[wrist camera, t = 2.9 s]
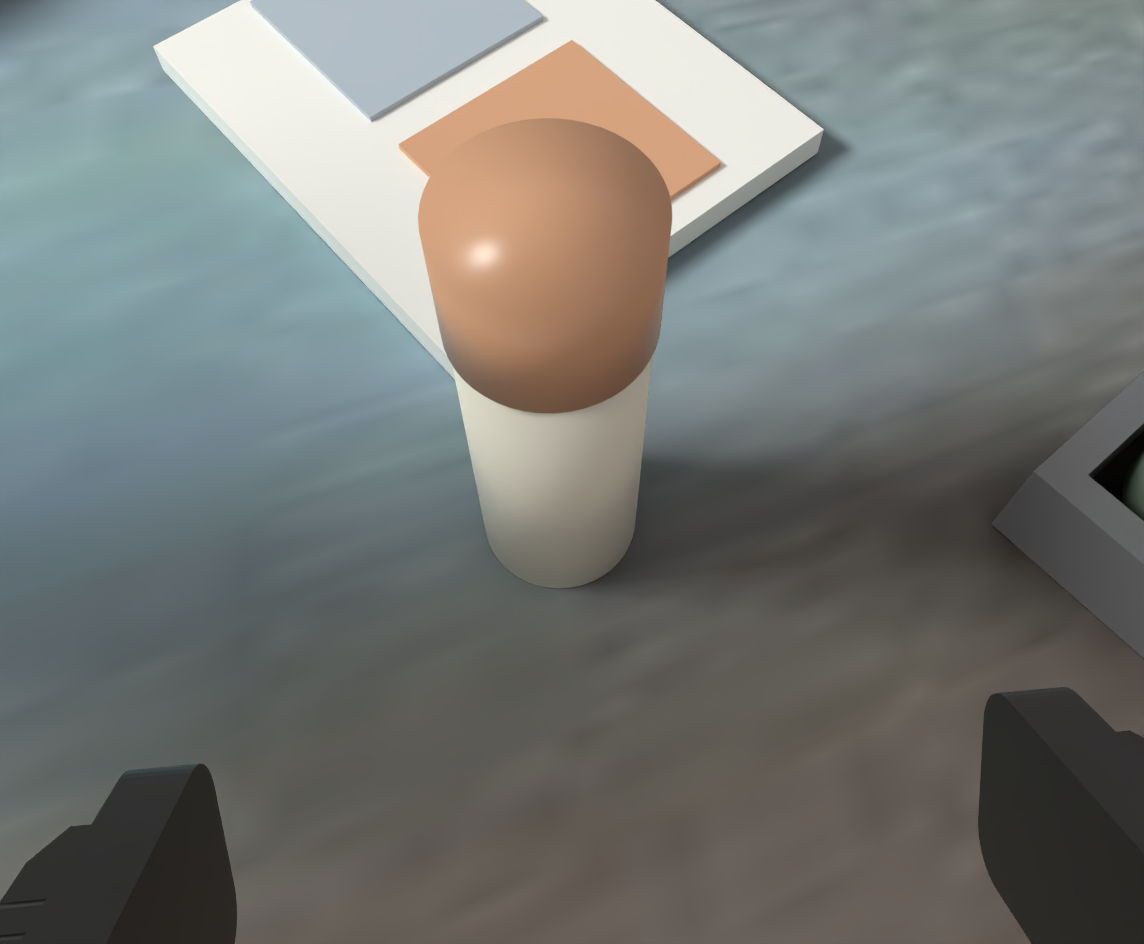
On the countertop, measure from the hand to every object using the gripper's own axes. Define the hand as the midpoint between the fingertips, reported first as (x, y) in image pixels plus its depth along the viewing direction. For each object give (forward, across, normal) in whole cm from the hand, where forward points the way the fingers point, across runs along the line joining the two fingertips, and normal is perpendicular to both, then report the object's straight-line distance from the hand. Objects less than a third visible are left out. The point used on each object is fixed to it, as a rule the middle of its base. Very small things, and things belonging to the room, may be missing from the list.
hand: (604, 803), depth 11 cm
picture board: (+28, +1, -8) cm, 29 cm away
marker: (+17, 0, +3) cm, 17 cm away
